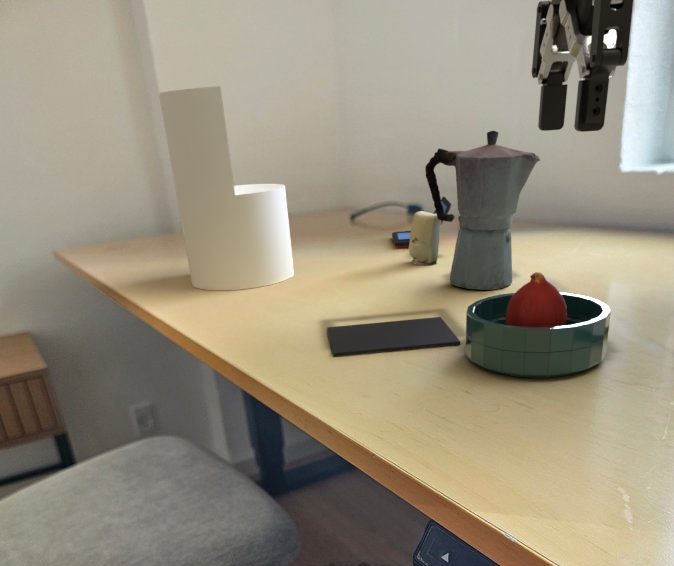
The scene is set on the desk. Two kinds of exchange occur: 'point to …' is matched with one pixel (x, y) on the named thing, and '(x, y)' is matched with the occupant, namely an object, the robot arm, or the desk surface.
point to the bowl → (537, 339)
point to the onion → (537, 305)
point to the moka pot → (483, 210)
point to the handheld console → (403, 237)
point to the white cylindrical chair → (222, 200)
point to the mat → (390, 336)
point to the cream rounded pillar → (424, 238)
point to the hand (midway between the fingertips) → (568, 130)
